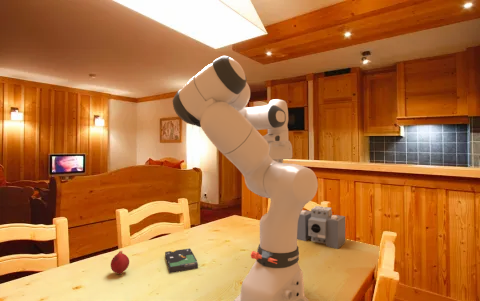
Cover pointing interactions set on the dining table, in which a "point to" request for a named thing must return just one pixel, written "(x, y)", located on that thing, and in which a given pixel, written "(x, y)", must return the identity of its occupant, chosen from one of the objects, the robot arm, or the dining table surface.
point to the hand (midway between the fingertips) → (278, 170)
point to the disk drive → (180, 260)
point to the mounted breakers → (333, 229)
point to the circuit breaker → (318, 223)
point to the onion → (119, 263)
